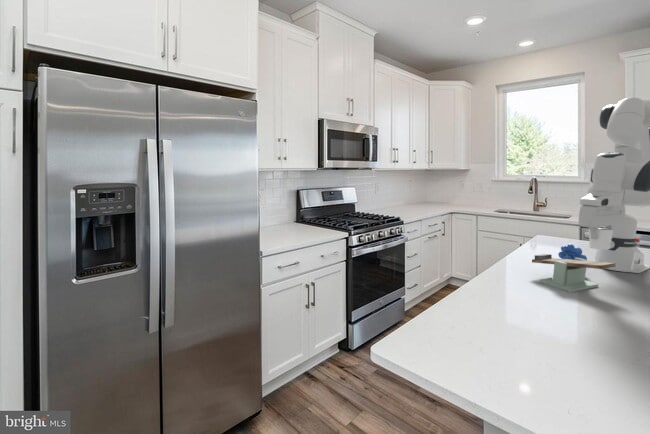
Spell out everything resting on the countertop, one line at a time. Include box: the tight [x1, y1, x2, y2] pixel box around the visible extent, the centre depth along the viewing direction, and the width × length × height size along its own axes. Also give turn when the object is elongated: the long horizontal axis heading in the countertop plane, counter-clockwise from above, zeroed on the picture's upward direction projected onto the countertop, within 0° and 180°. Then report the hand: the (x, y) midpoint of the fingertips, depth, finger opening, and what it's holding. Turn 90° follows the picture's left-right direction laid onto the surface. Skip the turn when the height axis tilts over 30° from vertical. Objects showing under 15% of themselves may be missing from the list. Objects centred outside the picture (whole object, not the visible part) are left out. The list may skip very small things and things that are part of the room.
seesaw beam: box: [531, 253, 616, 270], centre depth 136 cm, size 26×10×4 cm, turn 22°
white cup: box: [588, 227, 613, 250], centre depth 126 cm, size 7×7×7 cm
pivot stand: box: [539, 258, 599, 293], centre depth 137 cm, size 16×12×10 cm
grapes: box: [557, 243, 588, 261], centre depth 152 cm, size 12×7×12 cm, turn 25°
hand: (600, 238), depth 126 cm, fingers closed on white cup, 5 cm apart
